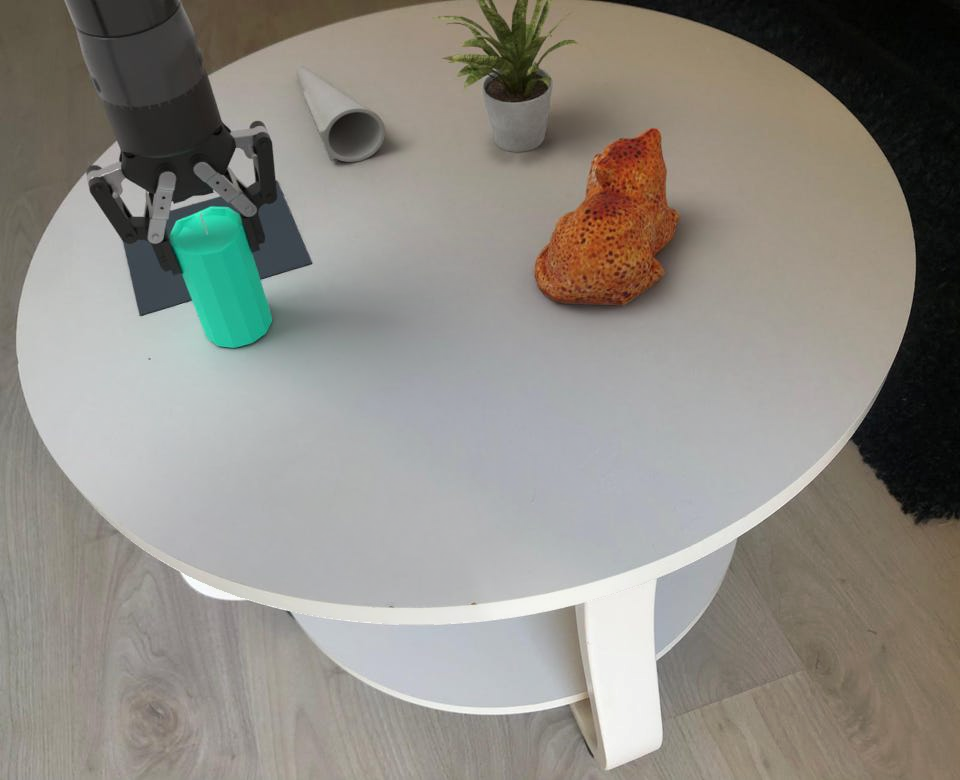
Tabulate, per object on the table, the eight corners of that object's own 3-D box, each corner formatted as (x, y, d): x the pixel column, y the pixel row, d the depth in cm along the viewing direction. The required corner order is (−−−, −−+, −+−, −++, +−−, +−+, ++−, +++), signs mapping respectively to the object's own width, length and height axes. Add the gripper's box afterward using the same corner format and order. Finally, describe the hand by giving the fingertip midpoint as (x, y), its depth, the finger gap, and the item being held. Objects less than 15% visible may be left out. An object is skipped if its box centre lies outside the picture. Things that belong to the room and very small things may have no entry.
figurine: (591, 196, 95) (592, 104, 88) (697, 225, 91) (708, 132, 84) (516, 295, 87) (511, 203, 79) (630, 333, 83) (636, 239, 75)
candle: (275, 297, 89) (242, 187, 80) (269, 345, 85) (233, 235, 76) (209, 302, 89) (168, 193, 80) (199, 350, 85) (156, 241, 76)
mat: (139, 316, 89) (139, 315, 89) (119, 226, 98) (119, 225, 98) (311, 263, 92) (311, 262, 92) (277, 181, 101) (276, 180, 101)
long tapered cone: (354, 75, 116) (392, 149, 102) (302, 94, 116) (333, 170, 102) (338, 29, 112) (375, 99, 98) (285, 48, 112) (314, 121, 98)
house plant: (462, 91, 109) (447, -58, 97) (588, 93, 107) (589, -58, 95) (438, 169, 100) (418, 16, 88) (575, 174, 98) (575, 17, 86)
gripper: (240, 23, 72) (289, 207, 85) (40, 73, 70) (121, 255, 82) (262, 72, 68) (311, 259, 80) (48, 127, 65) (134, 312, 78)
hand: (215, 257), depth 81 cm, fingers closed on candle, 6 cm apart
